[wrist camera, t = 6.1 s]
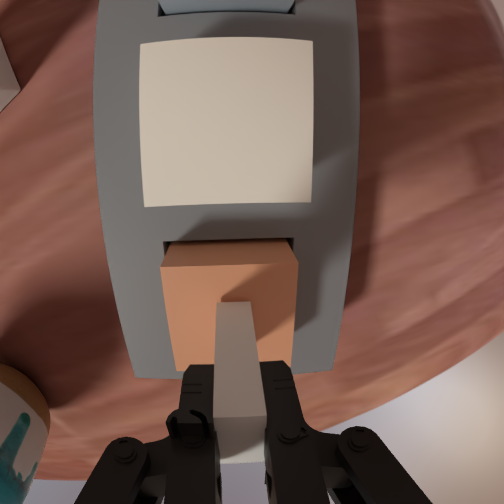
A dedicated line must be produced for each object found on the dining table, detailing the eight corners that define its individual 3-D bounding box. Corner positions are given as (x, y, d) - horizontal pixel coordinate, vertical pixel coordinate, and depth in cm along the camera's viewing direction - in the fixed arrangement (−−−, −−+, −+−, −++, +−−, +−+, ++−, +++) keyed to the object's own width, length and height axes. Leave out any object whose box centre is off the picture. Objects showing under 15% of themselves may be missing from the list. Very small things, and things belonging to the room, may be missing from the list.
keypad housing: (148, 334, 23) (135, 377, 19) (136, -56, 12) (118, -91, 8) (314, 328, 24) (332, 369, 20) (320, -58, 13) (341, -92, 9)
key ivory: (170, 181, 16) (144, 207, 11) (168, 71, 14) (140, 44, 9) (283, 179, 17) (310, 202, 11) (283, 69, 15) (312, 41, 9)
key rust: (186, 313, 21) (176, 371, 16) (178, 227, 19) (160, 267, 13) (275, 310, 21) (290, 366, 16) (277, 224, 19) (298, 262, 14)
